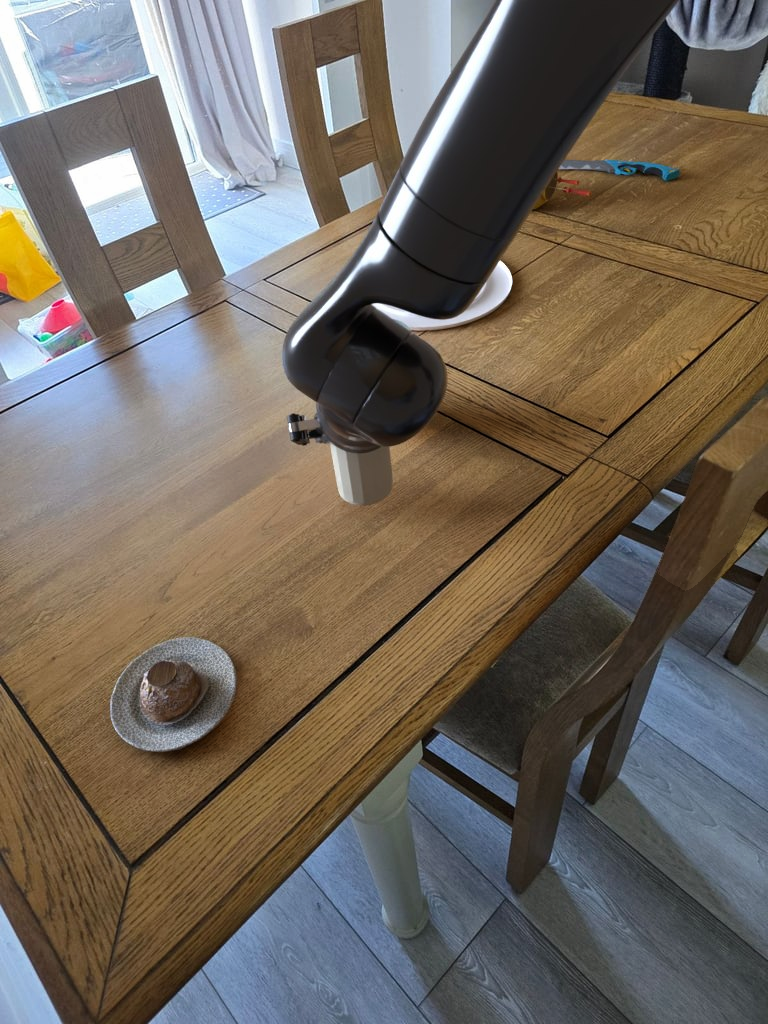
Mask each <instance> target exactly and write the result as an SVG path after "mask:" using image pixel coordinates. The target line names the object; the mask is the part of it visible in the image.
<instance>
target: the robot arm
mask: <svg viewBox="0 0 768 1024" xmlns="http://www.w3.org/2000/svg"><path fill="white" fill-rule="evenodd" d="M680 1H681V0H494V1H493V3H492V6H491V7H490V9H489V10H488V13H487V14H486V16H485V17H484V19H483V21H482V23H481V24H480V25H479V26H478V29H477V30H476V31H475V34H474V35H473V37H472V38H471V40H470V42H469V43H468V45H467V47H466V48H465V50H464V51H463V53H462V54H461V56H460V57H459V59H458V60H457V63H456V64H455V66H454V67H453V69H452V70H451V72H450V74H449V76H448V77H447V79H446V81H445V82H444V84H443V86H442V87H441V88H440V91H438V93H437V96H436V97H435V98H434V100H433V102H432V104H431V106H430V107H429V109H428V111H427V113H426V115H425V117H424V119H423V120H422V122H421V124H420V125H419V127H418V129H417V132H416V133H415V135H414V137H413V139H412V141H411V143H410V144H409V147H408V149H407V151H406V153H405V154H404V156H403V159H402V161H401V163H400V165H399V167H398V169H397V171H396V173H395V175H394V178H393V179H392V182H391V184H390V186H389V188H388V190H387V192H386V194H385V197H384V198H383V200H382V202H381V204H380V207H379V208H378V211H377V212H376V215H375V217H374V219H373V221H372V223H371V225H370V227H369V229H368V230H367V232H366V234H365V236H364V237H363V238H362V240H361V242H360V243H359V245H358V246H357V248H356V249H355V251H354V252H353V253H352V255H351V256H350V257H349V259H348V260H347V262H346V263H345V264H344V265H343V267H342V268H341V269H340V270H339V272H338V273H337V274H336V275H335V277H334V278H332V280H331V281H330V282H329V283H328V284H327V285H326V286H325V287H324V288H323V289H322V290H321V291H320V292H319V293H318V294H317V295H316V296H315V297H314V299H312V300H311V301H310V303H309V304H308V305H306V307H305V308H304V309H302V311H301V312H300V313H299V315H297V317H296V319H294V321H292V323H291V324H290V326H289V328H288V330H287V331H286V334H285V336H284V339H283V343H282V348H281V359H282V367H283V372H284V374H285V376H286V378H287V380H288V382H289V383H290V384H291V385H292V386H293V387H294V388H295V389H296V390H297V391H299V392H300V393H301V394H303V395H304V396H305V397H308V398H309V399H310V400H312V401H314V402H315V410H316V413H315V414H314V416H313V418H311V419H307V418H306V415H305V414H301V415H300V413H295V412H293V413H290V414H288V415H286V421H287V427H288V433H289V439H290V442H292V443H294V444H296V445H298V446H301V447H303V446H305V447H306V446H307V445H308V444H311V443H310V442H311V441H310V440H314V441H315V443H317V444H323V445H327V444H330V443H332V444H334V445H335V446H336V447H338V448H340V449H342V450H344V451H346V452H350V453H358V454H360V453H368V452H372V451H374V450H376V449H378V448H380V447H389V448H391V447H395V446H398V445H402V444H403V443H405V442H407V441H409V440H411V439H412V438H414V437H416V435H418V434H419V433H420V432H421V431H423V430H424V429H425V428H426V427H427V426H428V425H429V424H430V423H431V421H432V420H433V419H434V417H435V416H436V414H437V413H438V411H439V410H440V408H441V406H442V404H443V401H444V399H445V397H446V393H447V388H448V383H449V382H448V381H449V380H448V379H449V374H448V369H447V366H446V363H445V361H444V359H443V357H442V355H441V354H440V352H439V351H438V350H437V349H436V348H435V347H434V346H433V345H432V344H430V343H429V342H428V341H426V340H425V339H424V338H422V337H420V336H419V335H418V334H416V333H414V332H412V333H413V334H411V331H412V330H411V331H410V330H408V329H407V328H405V327H404V326H403V325H401V324H400V323H398V322H397V321H395V320H394V319H392V318H391V317H389V316H388V315H386V314H385V313H383V312H382V311H380V310H379V309H377V308H376V307H375V306H373V305H372V304H374V303H378V304H385V305H389V306H393V307H396V308H399V309H402V310H405V311H407V312H410V313H413V314H416V315H419V316H423V317H426V318H430V319H439V320H446V319H452V318H454V317H457V316H459V315H460V314H462V313H463V312H464V311H465V310H466V309H467V308H468V307H469V306H470V305H471V303H472V302H473V301H474V300H475V298H476V297H477V295H478V294H479V292H480V291H481V289H482V288H483V286H484V285H485V283H486V281H487V280H488V278H489V277H490V275H491V274H492V272H493V270H494V269H495V267H496V266H497V264H498V263H499V261H502V258H503V257H504V255H505V254H506V251H507V250H509V247H510V246H511V244H512V243H513V241H514V239H515V238H516V236H517V235H518V234H519V232H520V230H521V228H522V227H523V225H524V224H525V222H526V221H527V219H528V217H529V216H530V215H531V213H532V211H533V210H534V209H533V208H534V206H535V205H536V203H537V202H538V200H539V198H540V197H541V195H542V194H543V192H544V191H545V189H546V187H547V186H548V184H549V183H550V181H551V180H552V178H553V177H554V175H555V173H556V172H557V173H558V170H560V169H559V167H560V166H561V164H562V163H563V161H564V160H566V159H567V158H568V155H569V153H570V152H571V150H573V148H574V146H575V145H576V143H577V142H578V141H579V139H580V137H581V136H582V134H583V132H585V130H586V128H587V127H588V126H589V124H590V122H591V121H592V119H593V118H594V117H595V115H596V114H597V112H598V111H599V110H600V108H601V106H602V105H603V104H604V102H605V101H606V100H607V98H608V97H609V96H610V94H611V92H612V91H613V89H614V88H615V87H616V85H617V84H618V83H619V81H620V80H621V79H622V77H623V76H624V74H625V73H626V72H627V70H628V69H629V67H630V66H631V65H632V63H633V62H634V61H635V59H636V58H637V57H638V55H639V54H640V53H641V52H642V50H643V49H644V48H645V46H646V45H647V43H648V42H649V41H650V39H651V38H652V37H653V35H654V34H655V33H656V32H657V30H658V29H659V28H660V27H661V25H662V24H663V23H664V22H665V20H666V19H667V17H668V16H669V15H670V13H671V12H672V11H673V9H674V8H676V6H677V5H678V3H679V2H680Z"/></svg>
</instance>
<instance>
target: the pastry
mask: <svg viewBox="0 0 768 1024" xmlns="http://www.w3.org/2000/svg"><path fill="white" fill-rule="evenodd" d="M237 685H238V679H237V669H236V667H235V664H234V660H233V659H232V658H231V656H230V655H229V653H228V652H227V651H226V650H225V649H223V648H222V647H221V646H219V645H218V644H216V643H214V642H213V641H211V640H208V639H203V638H198V637H193V636H191V637H189V636H185V637H176V638H171V639H168V640H166V641H163V642H161V643H158V644H156V645H154V646H152V647H150V648H148V649H147V650H145V651H144V652H143V653H141V654H140V655H138V656H137V657H136V658H134V659H133V660H131V662H130V663H129V664H128V665H127V666H126V667H125V669H124V670H123V672H122V673H121V674H120V676H119V677H118V679H117V681H116V683H115V686H114V689H113V692H112V693H111V696H110V719H111V722H112V723H111V724H112V726H113V728H114V730H115V732H116V733H117V734H118V736H119V737H120V738H121V739H122V740H124V742H126V743H128V744H129V745H130V746H132V747H134V748H137V749H140V750H143V751H147V752H155V753H157V752H158V753H162V752H164V753H165V752H171V751H180V750H182V749H184V748H187V746H189V745H191V744H193V743H196V742H197V741H199V740H201V739H202V738H204V737H205V736H206V735H208V734H209V733H210V732H212V730H214V729H215V728H216V727H217V726H218V725H219V723H221V721H222V720H223V719H224V718H225V716H226V715H227V713H228V712H229V710H230V708H231V706H232V704H233V702H234V699H235V695H236V692H237V687H238V686H237Z"/></svg>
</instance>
